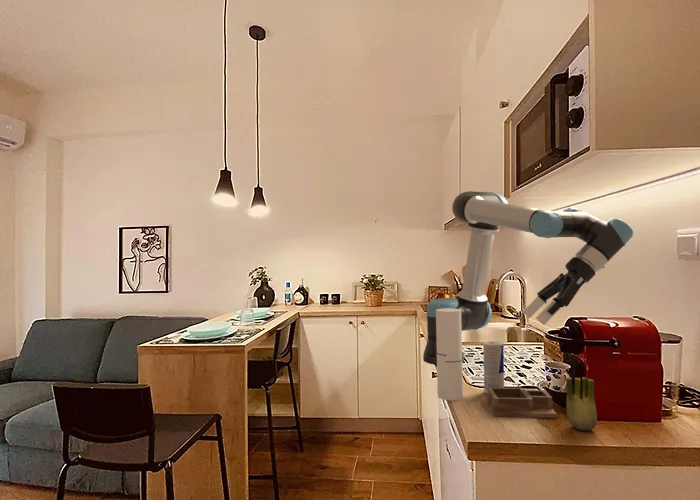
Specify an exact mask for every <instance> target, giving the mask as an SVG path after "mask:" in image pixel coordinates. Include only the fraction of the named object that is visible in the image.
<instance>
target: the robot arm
mask: <svg viewBox="0 0 700 500" xmlns="http://www.w3.org/2000/svg"><path fill="white" fill-rule="evenodd" d="M451 209H452V214H453V216H454V217H455V218H456V219H457V220H458V221H459V222H461V223H466V224H467V226H468V227H467V228H469V229H470V237H469V238H470V239H469V245H468V251H467V257H466V264H465V270H464V277H463V283H462V289H461V291H458V292H457V296H456V298H455V297H444V298H443V297H442V298H436V299H433V300H430V301H429V302H428V303H427V305H426V306H427V307H426V322H427V323H426V328H427V329H426V330H427V331H426V332H427V340H426V345H425V348H424V351H423V353H422V355H423V357H422V358H423V362H425V363H426V364H430V365H436V366H437V340H436V309H444V308H452V309H460V310H461V330H462V332H464V331H470V330H475V331H476V330H479V329H482V328H484V327H486V326H487V325H488V324H489V323H490V322H491V319H492V315H493V309H492V308H491V304H490V302H489V301H488V300H489V298H488V297H487V295H486V288H487V287H486V286H487V282H488V276H489V270H490V263H491V258H492V251H493V246H494V240H495V234H496V233H498V232H499V231H500V227H503V228H507V229H512V230H517V231H521V232H526V233H528V234H530V233H531V234H534V235H535V236H536V237H539V238H543V239H551V238H577V239H579V240H581V241H582V242H584V243H585V244H584V245H583V246H582V247H581V248H580V249H579V250H578V251H577V252H576V253H575V256H573V257H572V258H571V259H569V261H568V262H566V264H565V269H566V270H567V272H566V273H565V274H564V273H563V272H562V273H560V274H559V275H558V276H557V277H556V278H555V279H553V280H552V281H551V282H550V283H548V284H547V285H546V286H544V287H543V288H542V289H541V290H540V291H538V292H537V293H536V295H537V297H536V298H534V300H532V301H531V302H530V303H529V304H528V305H527V307H526V308H524V309H523V311H522V313H523V314H524V315H525V316H526V317H527V318H529V319H531V318H532V317H533V316H534V314H536V313H537V311H539V310H540V308H542V307H543V306H544V305H545V304H547V302H548V300H549V299H550V298H552V297H553V296H556V295H557V296H556V297H553V298H552V300H551V302H550V303H548V304H547V305H546V307H545V308H544V309H543V310H542V311H541V312H539V313H538V315H536V317H535V319H536V320H537V321H539V323H541V325H543V326H545V325H546V324H548V322H549V321H550V320H551V319H552V318H553V317H554V316H555V314H556V313H558V312H559V311H560V310H561V309H562V308H563V307H566V308H567V307H568V306H569V304H570V303H571V302H572V300H573V299H574V297H575V296H576V295H577V293H578V292H579V291H580V289H581V287H582V286H583V285H584V284H587V283H589V282H590V281H591V280H592V279H593V278H594V277H595V276H596V273H599V271H600V270H601V269H605V268H606V266H605V265H607V263H608V262H609V261H611V259H612V258H613V257H614V256H615V255H616V254H617V253H619V251H620V250H621V249H622V248H623V247H625V246H626V244H627V243H628V242H629V241H630V240H631V238H633V236H634V231H633V228H632V227H631V226H630V224H629V223H628V222H627V221H624V220H622V219H620V218H618V217H611V218H610V219H609V220H607V221H604V220H600V219H599V218H598V217H595V216H593V215H591V214H589V213H588V212H585V211H584V210H583V209H579V208H576V207H573V206H571V207H567V208H565V209H564V210H563V211H556V210H555V211H554V210H548V209H541V208H536V207H528V206H521V205H518V204H517V205H516V204H512V203H511V204H509V203H508V200H507V199H506V197H505V196H504V195H502V194H500V193H497V192H491V191H472V190H470V191H464V192H461V193H460V194H458V195H456V197H455V198H454V201H453V202H452V206H451ZM464 362H465V355H464V352H463V351H462V364H463V363H464Z"/></svg>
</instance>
